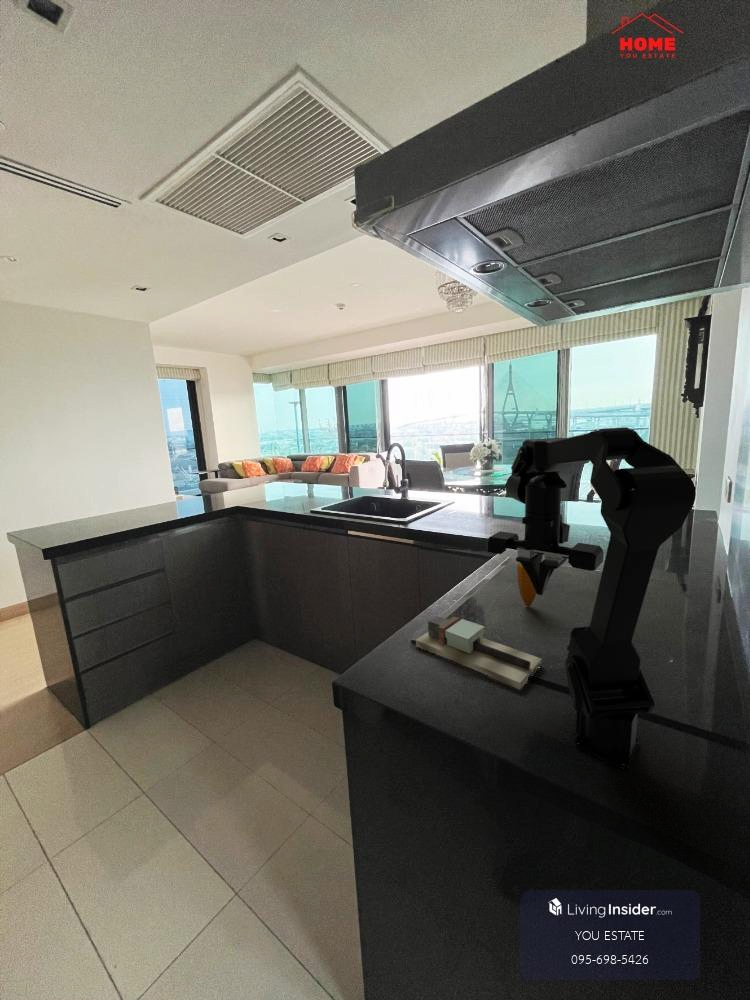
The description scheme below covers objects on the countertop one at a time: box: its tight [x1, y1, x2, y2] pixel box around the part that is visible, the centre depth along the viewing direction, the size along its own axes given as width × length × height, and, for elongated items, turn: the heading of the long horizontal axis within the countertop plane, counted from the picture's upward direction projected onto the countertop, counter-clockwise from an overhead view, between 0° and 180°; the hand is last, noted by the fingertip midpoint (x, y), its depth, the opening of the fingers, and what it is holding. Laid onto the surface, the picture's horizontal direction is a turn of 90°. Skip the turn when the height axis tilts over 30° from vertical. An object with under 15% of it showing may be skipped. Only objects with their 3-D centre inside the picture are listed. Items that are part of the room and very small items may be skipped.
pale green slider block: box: [445, 618, 485, 653], centre depth 81 cm, size 5×6×3 cm
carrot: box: [516, 562, 537, 607], centre depth 97 cm, size 5×5×15 cm
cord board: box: [415, 615, 543, 690], centre depth 79 cm, size 22×9×5 cm, turn 46°
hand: (540, 594), depth 75 cm, fingers closed
